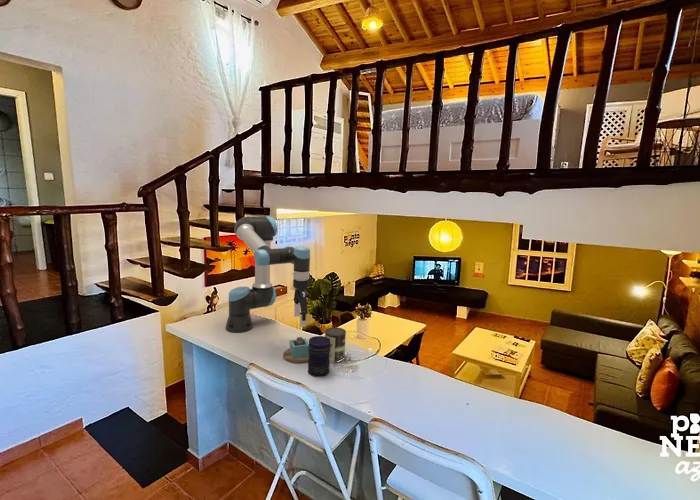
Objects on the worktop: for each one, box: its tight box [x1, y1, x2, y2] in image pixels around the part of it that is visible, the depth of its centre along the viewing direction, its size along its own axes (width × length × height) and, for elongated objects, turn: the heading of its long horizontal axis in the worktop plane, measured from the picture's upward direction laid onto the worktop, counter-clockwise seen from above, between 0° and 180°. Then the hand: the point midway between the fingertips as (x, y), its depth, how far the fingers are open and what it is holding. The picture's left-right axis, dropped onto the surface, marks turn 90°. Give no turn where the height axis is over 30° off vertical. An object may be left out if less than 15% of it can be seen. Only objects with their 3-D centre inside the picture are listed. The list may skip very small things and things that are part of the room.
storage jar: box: [307, 335, 330, 378], centre depth 160 cm, size 10×10×15 cm
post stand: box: [282, 336, 309, 364], centre depth 175 cm, size 16×16×9 cm
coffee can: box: [324, 327, 347, 364], centre depth 173 cm, size 10×10×14 cm
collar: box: [289, 338, 309, 359], centre depth 175 cm, size 8×8×6 cm
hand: (299, 321), depth 173 cm, fingers open, 13 cm apart
